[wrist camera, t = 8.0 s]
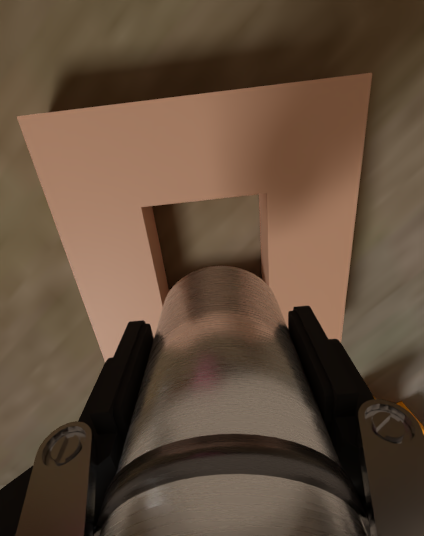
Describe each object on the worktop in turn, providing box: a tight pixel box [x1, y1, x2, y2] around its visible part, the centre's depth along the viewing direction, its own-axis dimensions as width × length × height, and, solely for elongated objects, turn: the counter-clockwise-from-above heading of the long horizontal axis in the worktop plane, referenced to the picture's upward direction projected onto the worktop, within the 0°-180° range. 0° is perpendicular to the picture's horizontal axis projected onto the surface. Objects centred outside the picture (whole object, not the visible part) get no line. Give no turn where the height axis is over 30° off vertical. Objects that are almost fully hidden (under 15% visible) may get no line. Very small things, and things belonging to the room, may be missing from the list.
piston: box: [94, 266, 371, 536], centre depth 9 cm, size 5×5×9 cm
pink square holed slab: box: [17, 73, 372, 362], centre depth 20 cm, size 18×18×3 cm
